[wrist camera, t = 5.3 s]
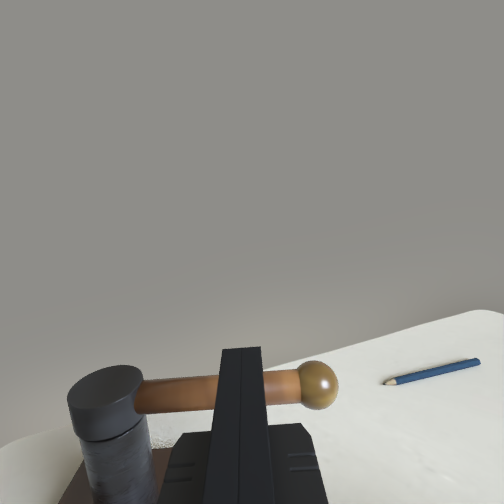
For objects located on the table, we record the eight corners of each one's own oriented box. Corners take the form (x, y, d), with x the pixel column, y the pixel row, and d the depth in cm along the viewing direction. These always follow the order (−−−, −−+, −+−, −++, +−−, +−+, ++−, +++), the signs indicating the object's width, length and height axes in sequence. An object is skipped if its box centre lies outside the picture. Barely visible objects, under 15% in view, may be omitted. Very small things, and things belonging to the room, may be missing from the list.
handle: (59, 449, 20) (49, 406, 19) (95, 398, 25) (87, 362, 24) (348, 428, 20) (348, 384, 19) (329, 381, 25) (328, 345, 24)
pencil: (480, 366, 43) (385, 389, 40) (473, 362, 44) (380, 385, 41) (480, 360, 43) (385, 383, 40) (474, 356, 44) (380, 379, 41)
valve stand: (-30, 682, 18) (-88, 531, 16) (89, 466, 32) (68, 368, 29) (216, 663, 18) (195, 510, 16) (228, 455, 32) (218, 357, 29)
